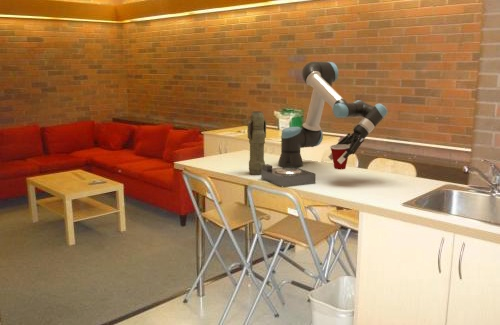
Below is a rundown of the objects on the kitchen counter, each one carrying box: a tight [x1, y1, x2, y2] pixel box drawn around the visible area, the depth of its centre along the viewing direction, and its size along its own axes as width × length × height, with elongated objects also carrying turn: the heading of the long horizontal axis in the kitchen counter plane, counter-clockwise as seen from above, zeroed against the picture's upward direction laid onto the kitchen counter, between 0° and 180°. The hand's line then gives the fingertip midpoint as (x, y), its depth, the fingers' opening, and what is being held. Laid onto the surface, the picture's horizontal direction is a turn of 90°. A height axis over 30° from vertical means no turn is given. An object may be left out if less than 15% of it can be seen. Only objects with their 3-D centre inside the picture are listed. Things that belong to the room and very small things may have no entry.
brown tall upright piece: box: [247, 110, 267, 176], centre depth 273 cm, size 9×12×35 cm
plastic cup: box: [329, 144, 350, 171], centre depth 250 cm, size 11×11×12 cm
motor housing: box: [260, 163, 317, 188], centre depth 257 cm, size 22×20×8 cm
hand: (334, 160), depth 250 cm, fingers closed on plastic cup, 10 cm apart
